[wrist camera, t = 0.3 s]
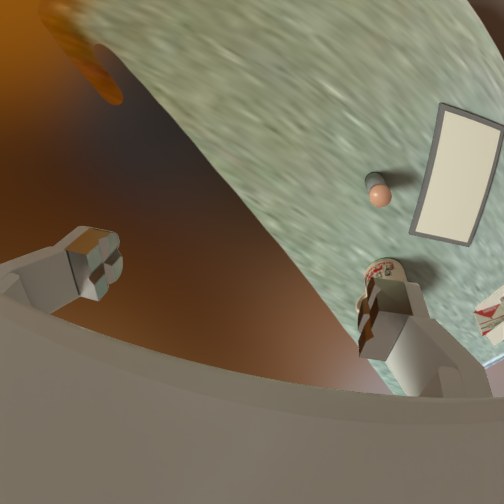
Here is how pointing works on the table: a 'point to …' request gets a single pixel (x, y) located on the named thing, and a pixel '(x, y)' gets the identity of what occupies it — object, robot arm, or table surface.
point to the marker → (377, 189)
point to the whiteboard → (456, 176)
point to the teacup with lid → (382, 274)
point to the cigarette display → (492, 316)
